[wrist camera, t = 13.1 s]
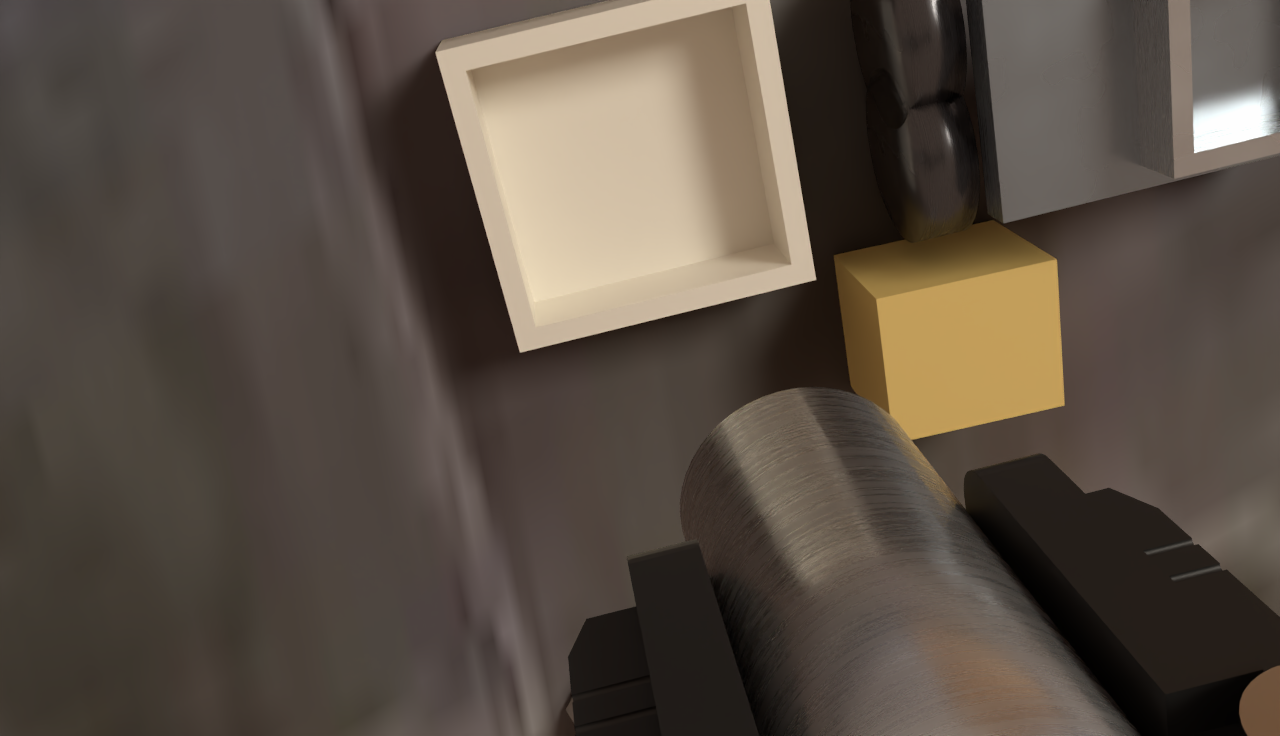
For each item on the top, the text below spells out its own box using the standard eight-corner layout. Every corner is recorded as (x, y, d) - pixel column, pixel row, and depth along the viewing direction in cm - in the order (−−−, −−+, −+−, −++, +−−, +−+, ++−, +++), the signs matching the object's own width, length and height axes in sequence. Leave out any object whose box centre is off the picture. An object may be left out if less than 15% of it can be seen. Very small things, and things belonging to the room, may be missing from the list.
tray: (519, 317, 34) (520, 352, 31) (442, 40, 31) (435, 52, 28) (791, 250, 34) (816, 280, 31) (741, -32, 31) (765, -27, 28)
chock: (849, 384, 36) (893, 443, 32) (832, 254, 34) (876, 299, 30) (1001, 351, 36) (1064, 405, 32) (992, 219, 34) (1056, 259, 30)
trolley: (879, 218, 34) (972, 293, 27) (840, -60, 31) (934, -54, 24) (1264, 124, 34) (1450, 175, 27) (1262, -161, 31) (1472, -184, 24)
